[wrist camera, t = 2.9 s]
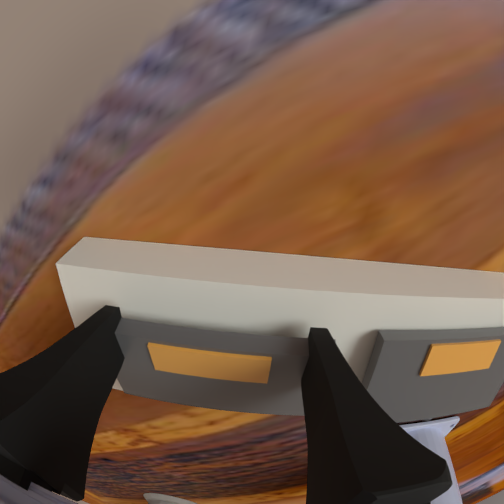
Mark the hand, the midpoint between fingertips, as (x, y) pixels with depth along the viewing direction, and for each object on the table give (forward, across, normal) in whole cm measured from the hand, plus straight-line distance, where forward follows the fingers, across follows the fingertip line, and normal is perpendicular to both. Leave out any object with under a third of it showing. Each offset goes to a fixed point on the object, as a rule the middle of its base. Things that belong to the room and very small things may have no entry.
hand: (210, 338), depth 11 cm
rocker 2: (0, -11, +2) cm, 11 cm away
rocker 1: (0, 0, +2) cm, 2 cm away
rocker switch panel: (+3, -6, +4) cm, 8 cm away
